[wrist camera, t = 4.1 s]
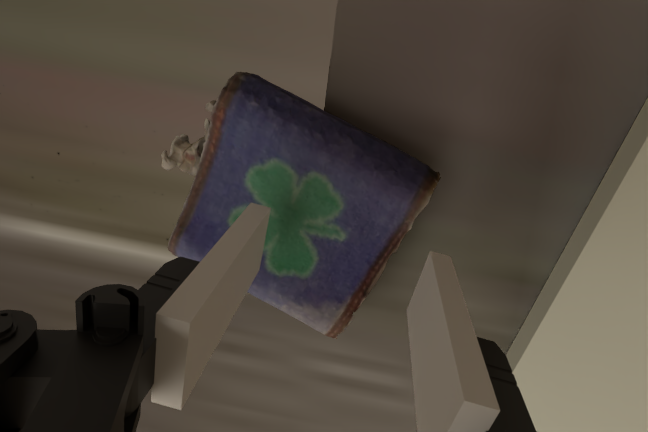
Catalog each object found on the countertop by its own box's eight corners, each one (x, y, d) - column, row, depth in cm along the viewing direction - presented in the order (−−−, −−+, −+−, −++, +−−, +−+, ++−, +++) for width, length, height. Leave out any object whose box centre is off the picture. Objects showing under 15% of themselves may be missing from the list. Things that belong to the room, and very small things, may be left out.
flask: (332, 352, 18) (124, 241, 18) (341, 314, 20) (161, 218, 20) (445, 180, 14) (185, 40, 14) (438, 162, 17) (219, 45, 17)
